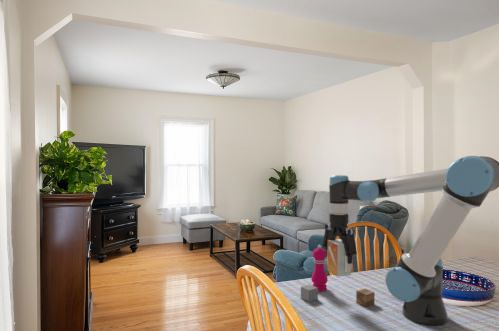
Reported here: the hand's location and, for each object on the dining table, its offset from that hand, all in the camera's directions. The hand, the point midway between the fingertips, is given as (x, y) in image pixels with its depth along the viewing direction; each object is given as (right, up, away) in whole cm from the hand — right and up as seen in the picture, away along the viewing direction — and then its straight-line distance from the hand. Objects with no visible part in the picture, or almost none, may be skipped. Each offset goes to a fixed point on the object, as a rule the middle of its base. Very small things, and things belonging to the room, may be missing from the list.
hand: (338, 268), depth 147 cm
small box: (0, -2, 0) cm, 2 cm away
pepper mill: (-5, -14, +17) cm, 22 cm away
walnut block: (+11, -14, 0) cm, 18 cm away
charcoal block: (-11, -14, +5) cm, 19 cm away
